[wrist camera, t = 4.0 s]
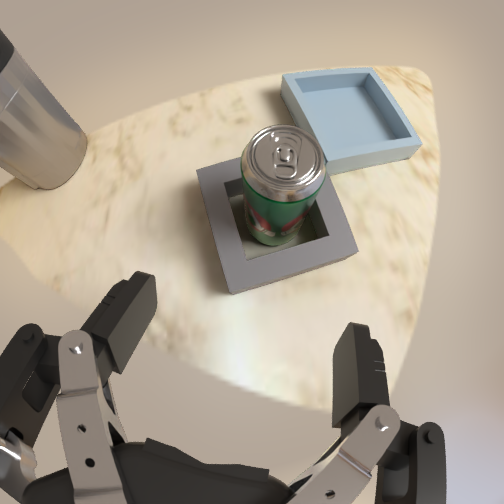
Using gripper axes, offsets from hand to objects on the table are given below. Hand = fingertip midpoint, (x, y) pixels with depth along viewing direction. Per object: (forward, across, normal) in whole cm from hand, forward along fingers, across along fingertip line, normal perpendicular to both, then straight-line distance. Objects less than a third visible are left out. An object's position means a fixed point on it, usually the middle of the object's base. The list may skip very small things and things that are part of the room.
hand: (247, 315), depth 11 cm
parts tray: (+26, -6, -6) cm, 27 cm away
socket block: (+16, 0, +4) cm, 16 cm away
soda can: (+16, 0, +4) cm, 17 cm away
